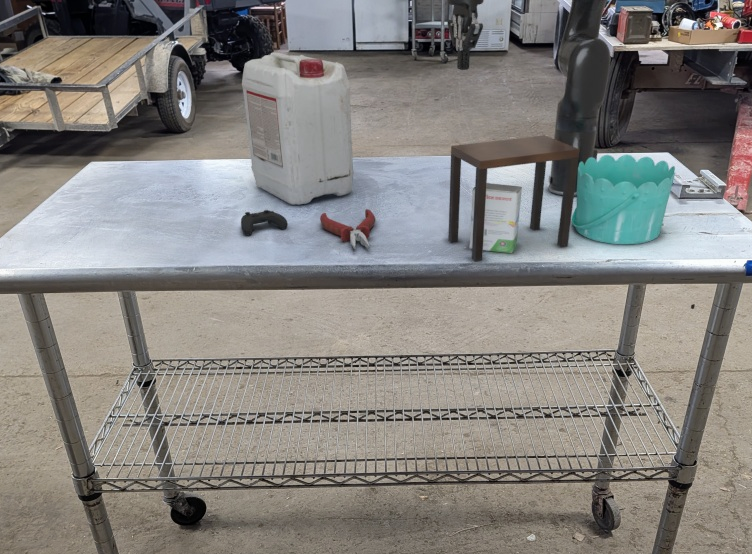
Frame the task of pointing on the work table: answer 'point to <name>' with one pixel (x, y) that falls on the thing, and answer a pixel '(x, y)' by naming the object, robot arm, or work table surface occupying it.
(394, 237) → the work table surface
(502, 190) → the ink box
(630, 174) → the basket
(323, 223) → the pliers
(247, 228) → the gaming controller
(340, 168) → the jerry can
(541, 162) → the small table
